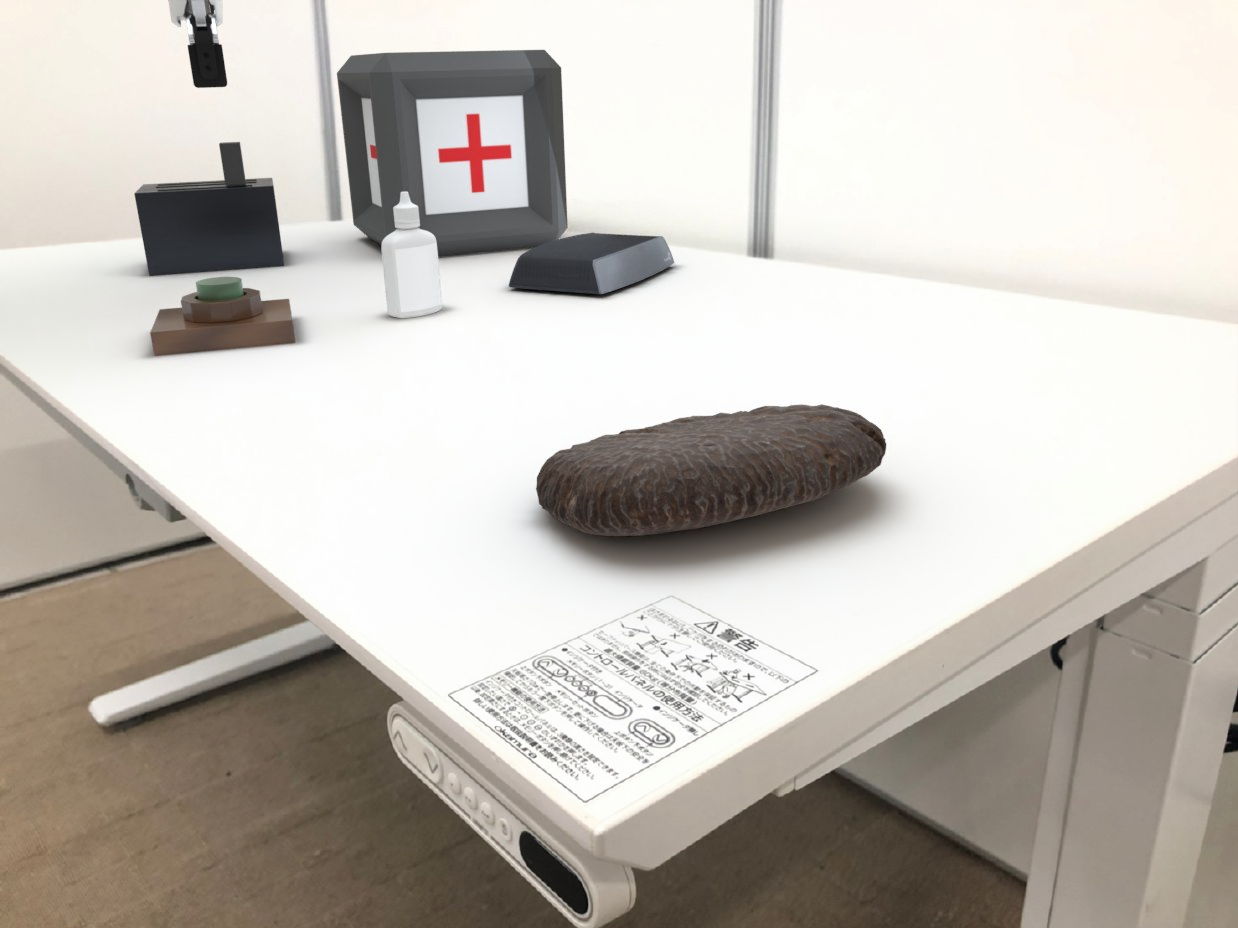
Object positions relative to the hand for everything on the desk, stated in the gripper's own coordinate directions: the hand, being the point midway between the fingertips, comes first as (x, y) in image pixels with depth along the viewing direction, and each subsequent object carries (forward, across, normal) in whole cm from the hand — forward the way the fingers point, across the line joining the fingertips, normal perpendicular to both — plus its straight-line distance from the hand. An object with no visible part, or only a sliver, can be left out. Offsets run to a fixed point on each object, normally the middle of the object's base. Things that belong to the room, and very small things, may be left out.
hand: (211, 86), depth 111 cm
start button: (+18, +21, -2) cm, 28 cm away
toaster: (+22, -22, -3) cm, 31 cm away
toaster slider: (+12, -18, +1) cm, 22 cm away
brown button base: (+22, +21, -2) cm, 30 cm away
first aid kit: (+22, -25, +30) cm, 45 cm away
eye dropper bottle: (+22, +18, +16) cm, 33 cm away
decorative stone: (+22, +75, +24) cm, 81 cm away
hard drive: (+22, +9, +39) cm, 45 cm away
